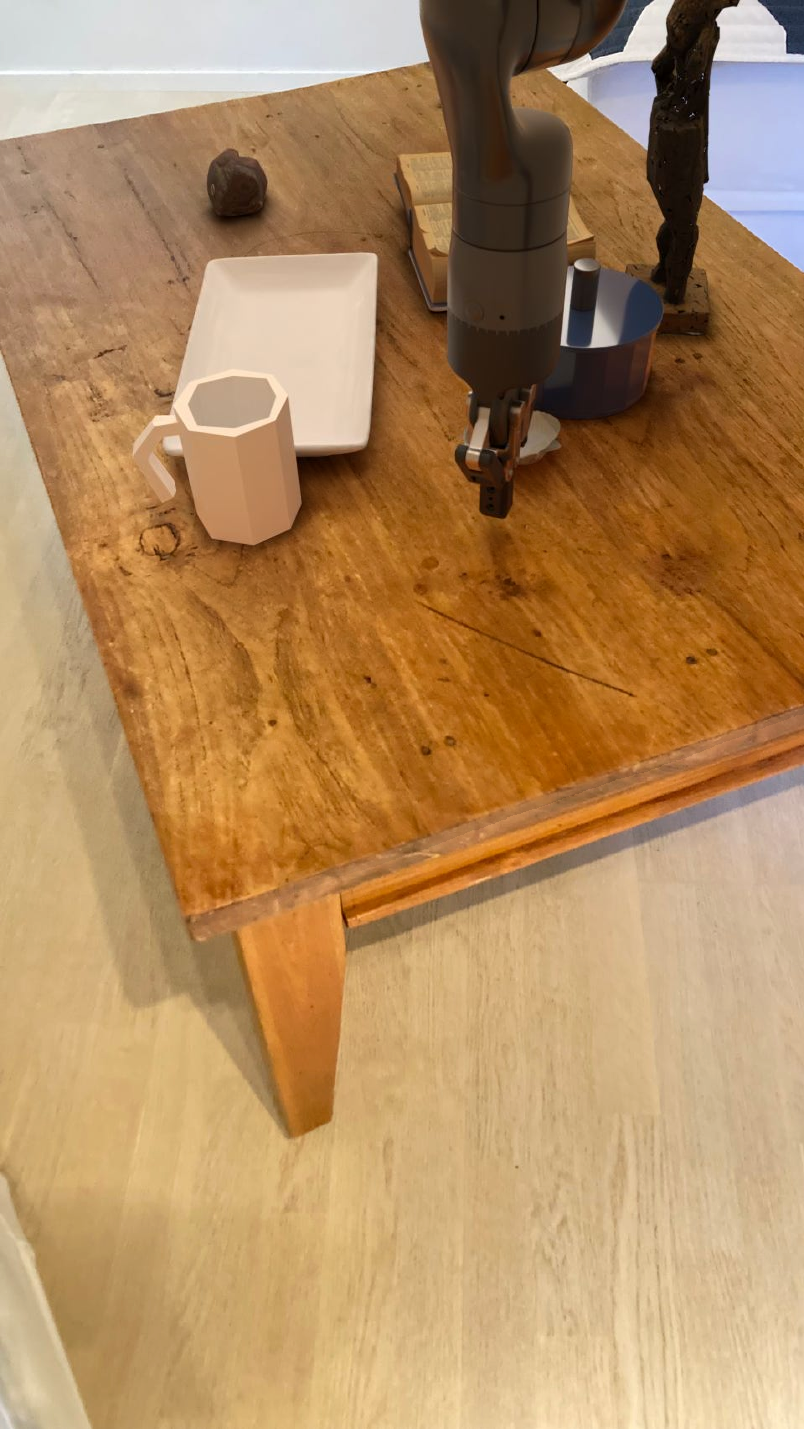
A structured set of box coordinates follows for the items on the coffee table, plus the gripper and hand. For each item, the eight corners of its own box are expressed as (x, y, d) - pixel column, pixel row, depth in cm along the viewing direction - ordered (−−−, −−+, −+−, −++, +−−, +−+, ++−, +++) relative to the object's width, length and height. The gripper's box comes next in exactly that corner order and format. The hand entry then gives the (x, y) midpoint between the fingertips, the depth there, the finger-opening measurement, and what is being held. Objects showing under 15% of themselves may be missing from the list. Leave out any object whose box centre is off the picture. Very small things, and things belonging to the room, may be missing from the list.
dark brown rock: (215, 136, 117) (215, 158, 109) (272, 161, 119) (276, 183, 112) (199, 191, 120) (199, 215, 113) (255, 213, 123) (258, 239, 115)
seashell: (531, 436, 92) (446, 434, 89) (539, 402, 90) (453, 399, 87) (573, 477, 86) (483, 477, 83) (582, 441, 84) (491, 440, 81)
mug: (298, 471, 86) (285, 364, 79) (304, 540, 81) (291, 431, 73) (151, 485, 86) (123, 378, 78) (147, 555, 80) (117, 447, 73)
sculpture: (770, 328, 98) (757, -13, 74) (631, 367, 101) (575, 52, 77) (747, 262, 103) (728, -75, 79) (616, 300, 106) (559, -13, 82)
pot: (659, 354, 96) (671, 286, 91) (627, 431, 89) (639, 362, 84) (527, 331, 99) (531, 264, 94) (485, 404, 92) (487, 335, 87)
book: (595, 296, 103) (603, 236, 98) (428, 314, 102) (427, 253, 97) (536, 186, 119) (540, 129, 114) (391, 200, 118) (389, 143, 113)
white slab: (165, 483, 86) (156, 448, 83) (212, 288, 106) (207, 254, 103) (372, 480, 85) (370, 444, 83) (380, 284, 106) (379, 250, 103)
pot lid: (676, 291, 92) (685, 239, 88) (641, 372, 84) (650, 319, 80) (528, 267, 95) (531, 216, 92) (481, 343, 87) (483, 291, 84)
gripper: (532, 359, 63) (516, 577, 76) (590, 257, 70) (567, 471, 84) (413, 337, 65) (419, 554, 78) (483, 241, 72) (477, 452, 86)
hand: (495, 511), depth 81 cm, fingers closed
